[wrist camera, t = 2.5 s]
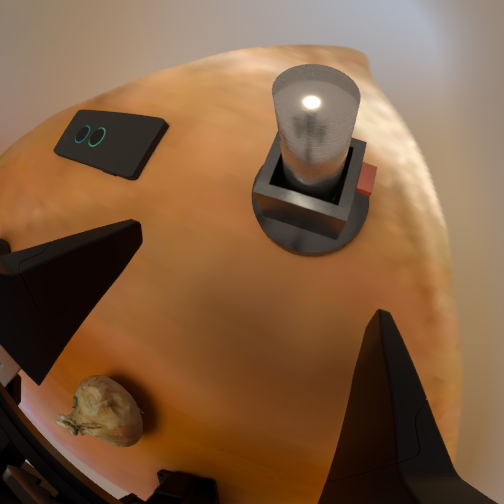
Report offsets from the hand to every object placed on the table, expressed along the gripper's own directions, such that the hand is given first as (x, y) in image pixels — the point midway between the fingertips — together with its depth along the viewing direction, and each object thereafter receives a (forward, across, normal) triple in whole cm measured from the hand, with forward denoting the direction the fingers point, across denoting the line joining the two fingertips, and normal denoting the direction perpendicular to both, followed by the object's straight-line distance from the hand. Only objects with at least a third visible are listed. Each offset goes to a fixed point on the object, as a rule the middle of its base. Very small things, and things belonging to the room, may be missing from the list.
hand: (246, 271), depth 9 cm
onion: (-2, +10, +22) cm, 24 cm away
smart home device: (+17, +28, +4) cm, 33 cm away
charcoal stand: (+16, 0, +4) cm, 16 cm away
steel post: (+15, 0, +3) cm, 15 cm away
